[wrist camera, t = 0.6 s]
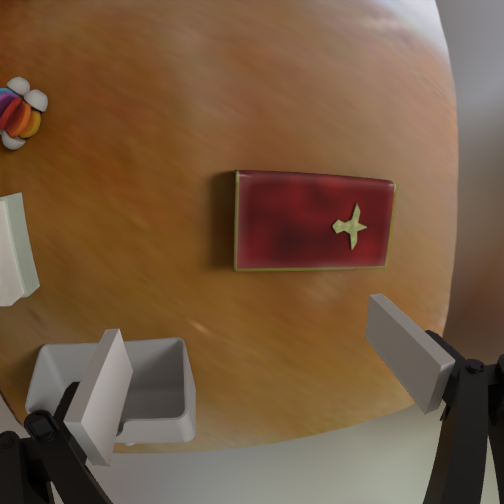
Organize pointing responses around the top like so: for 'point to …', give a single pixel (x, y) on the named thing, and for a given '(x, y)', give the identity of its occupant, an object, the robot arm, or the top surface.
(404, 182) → the top surface
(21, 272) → the grey square box
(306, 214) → the hardcover book
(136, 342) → the light grey storage bin
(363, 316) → the top surface
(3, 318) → the top surface
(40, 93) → the chunky wheeled toy
